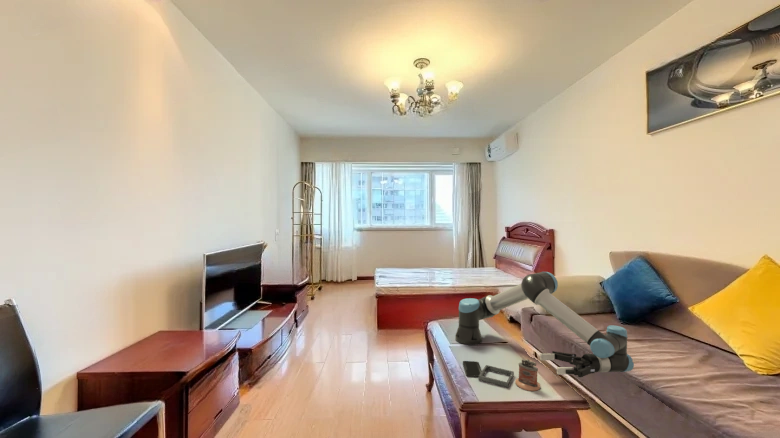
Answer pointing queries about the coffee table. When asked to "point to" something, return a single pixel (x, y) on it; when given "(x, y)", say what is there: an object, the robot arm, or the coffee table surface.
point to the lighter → (528, 373)
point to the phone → (472, 368)
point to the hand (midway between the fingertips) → (548, 363)
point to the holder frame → (495, 381)
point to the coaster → (527, 386)
